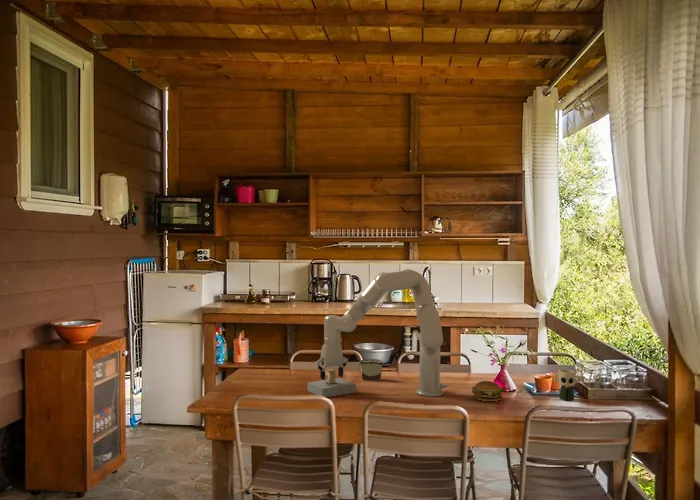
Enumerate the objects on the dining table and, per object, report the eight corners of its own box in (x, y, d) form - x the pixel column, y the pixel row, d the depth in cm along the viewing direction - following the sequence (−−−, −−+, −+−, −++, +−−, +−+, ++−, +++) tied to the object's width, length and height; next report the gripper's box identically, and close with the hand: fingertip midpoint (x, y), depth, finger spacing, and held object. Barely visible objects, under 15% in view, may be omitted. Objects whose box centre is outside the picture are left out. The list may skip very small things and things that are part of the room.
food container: (383, 378, 287) (384, 359, 287) (383, 380, 281) (383, 361, 281) (360, 377, 288) (360, 358, 288) (359, 380, 282) (359, 360, 282)
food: (465, 399, 248) (465, 381, 248) (481, 393, 258) (481, 376, 258) (493, 405, 238) (493, 387, 238) (508, 399, 249) (508, 381, 249)
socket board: (339, 386, 269) (339, 377, 269) (355, 392, 257) (355, 383, 257) (307, 390, 259) (307, 382, 259) (322, 397, 248) (322, 388, 248)
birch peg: (332, 390, 261) (333, 369, 261) (337, 392, 258) (337, 370, 258) (326, 391, 259) (326, 370, 259) (330, 393, 256) (330, 371, 256)
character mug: (554, 400, 248) (554, 371, 248) (553, 396, 254) (553, 368, 254) (580, 402, 244) (580, 373, 244) (578, 398, 251) (579, 370, 251)
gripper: (343, 339, 266) (343, 374, 266) (312, 342, 257) (311, 378, 257) (351, 341, 260) (351, 377, 260) (320, 344, 250) (319, 382, 250)
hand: (331, 378), depth 258 cm, fingers open, 9 cm apart
